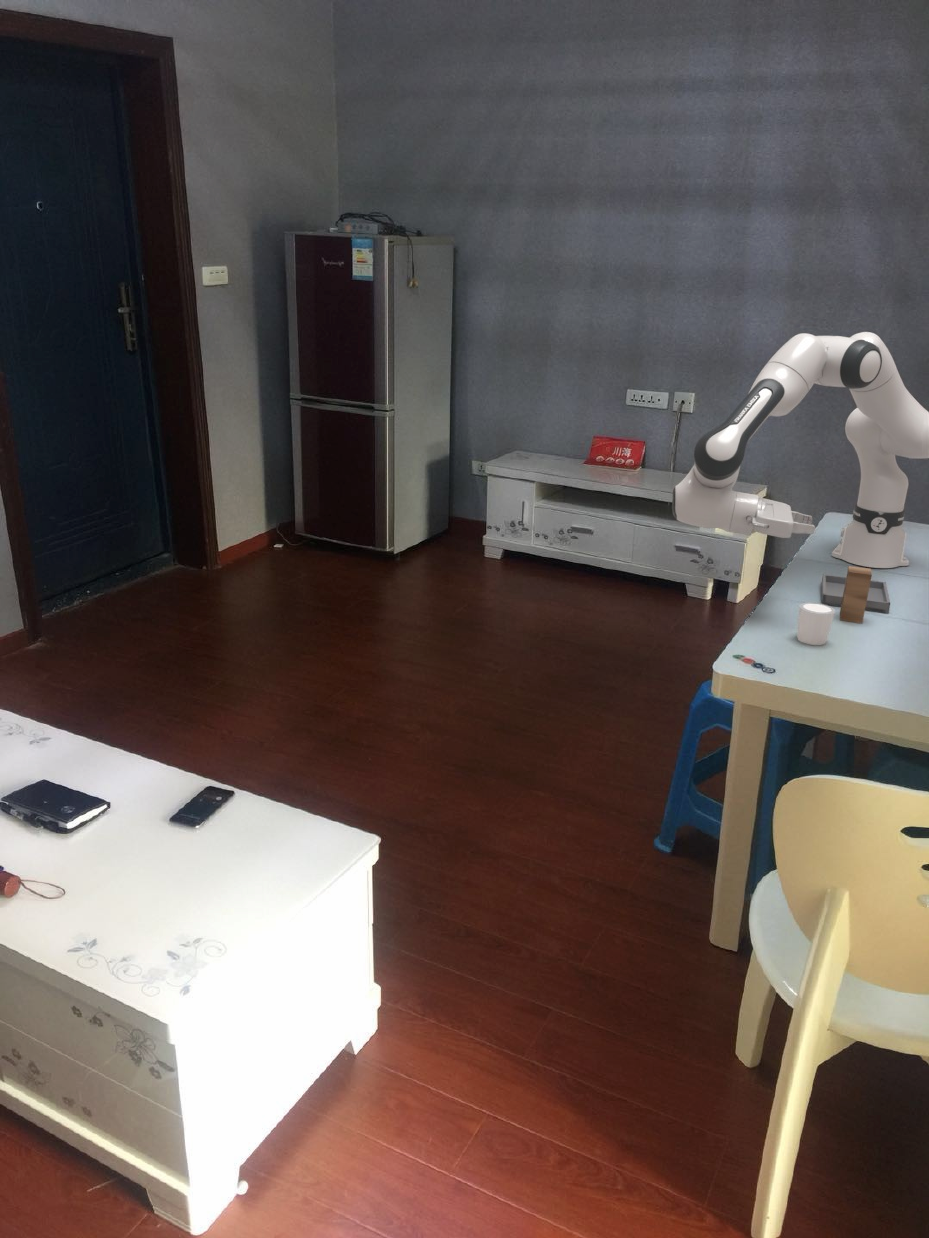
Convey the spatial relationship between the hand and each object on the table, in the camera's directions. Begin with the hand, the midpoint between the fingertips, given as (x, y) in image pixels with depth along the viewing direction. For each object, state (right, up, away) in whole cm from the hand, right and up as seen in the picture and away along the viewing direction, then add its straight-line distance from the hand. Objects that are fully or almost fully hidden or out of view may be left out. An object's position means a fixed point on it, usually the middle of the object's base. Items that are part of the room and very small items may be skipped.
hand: (813, 525), depth 204 cm
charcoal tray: (+16, -15, +17) cm, 28 cm away
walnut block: (+10, -20, +4) cm, 23 cm away
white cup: (-3, -24, -8) cm, 26 cm away
